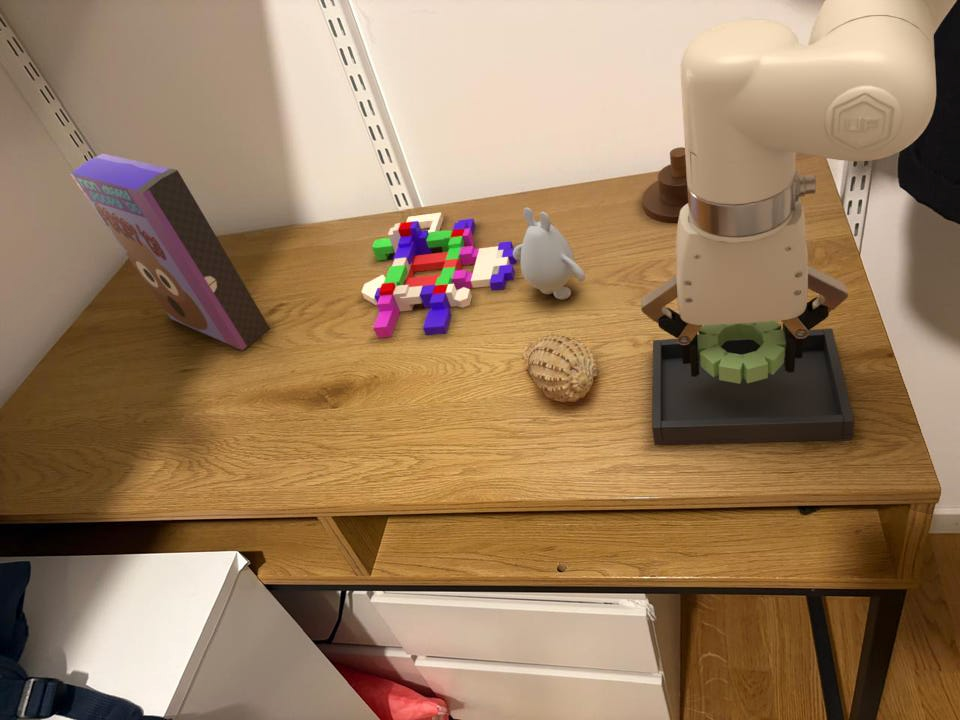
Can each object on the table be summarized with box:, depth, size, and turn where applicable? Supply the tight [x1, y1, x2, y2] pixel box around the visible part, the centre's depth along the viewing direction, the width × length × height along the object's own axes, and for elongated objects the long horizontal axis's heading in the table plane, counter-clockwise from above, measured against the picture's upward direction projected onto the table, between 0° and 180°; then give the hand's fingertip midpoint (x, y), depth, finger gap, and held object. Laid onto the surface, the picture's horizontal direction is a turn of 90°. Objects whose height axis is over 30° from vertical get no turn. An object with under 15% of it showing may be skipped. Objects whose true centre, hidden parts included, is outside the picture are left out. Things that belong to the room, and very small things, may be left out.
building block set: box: [360, 212, 518, 339], centre depth 96 cm, size 25×20×4 cm
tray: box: [651, 328, 855, 446], centre depth 69 cm, size 17×12×2 cm
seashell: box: [521, 334, 598, 403], centre depth 77 cm, size 8×6×10 cm
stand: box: [642, 146, 688, 224], centre depth 93 cm, size 10×10×7 cm
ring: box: [697, 321, 786, 384], centre depth 66 cm, size 7×8×2 cm
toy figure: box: [513, 206, 586, 300], centre depth 84 cm, size 11×6×12 cm, turn 47°
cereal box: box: [69, 153, 271, 352], centre depth 94 cm, size 17×5×24 cm, turn 53°
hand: (740, 362), depth 68 cm, fingers closed on ring, 7 cm apart
